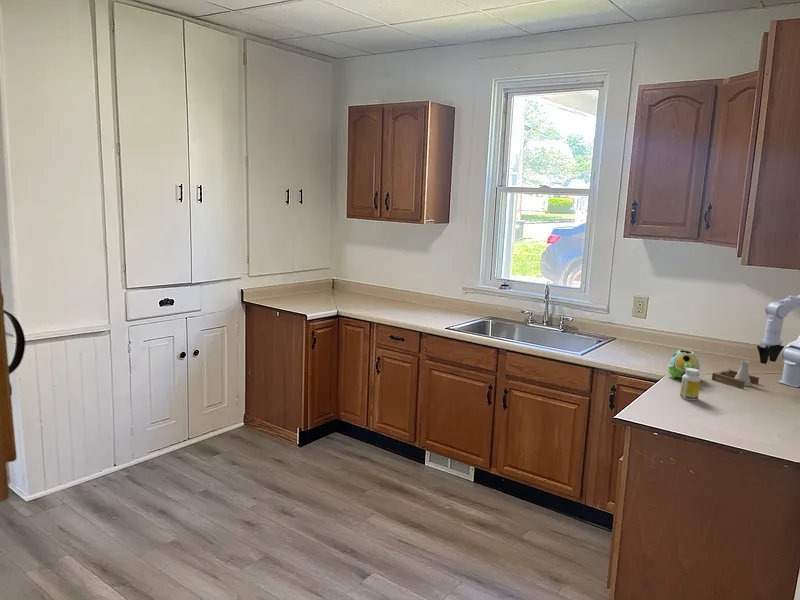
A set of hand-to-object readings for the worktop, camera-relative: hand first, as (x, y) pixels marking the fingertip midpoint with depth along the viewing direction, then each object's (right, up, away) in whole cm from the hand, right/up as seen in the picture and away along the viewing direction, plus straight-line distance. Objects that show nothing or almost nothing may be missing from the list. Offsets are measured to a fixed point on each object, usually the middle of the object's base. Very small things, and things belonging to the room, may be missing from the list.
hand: (767, 362), depth 250 cm
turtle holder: (-32, -8, +7) cm, 34 cm away
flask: (-9, -10, +3) cm, 14 cm away
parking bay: (-11, -9, +6) cm, 15 cm away
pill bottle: (-42, -12, -17) cm, 47 cm away
